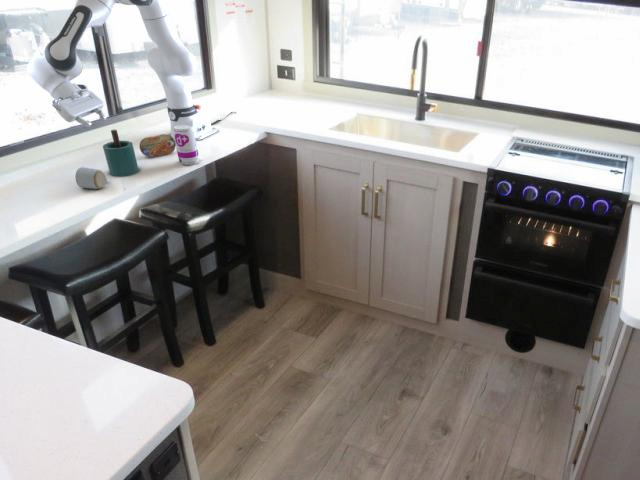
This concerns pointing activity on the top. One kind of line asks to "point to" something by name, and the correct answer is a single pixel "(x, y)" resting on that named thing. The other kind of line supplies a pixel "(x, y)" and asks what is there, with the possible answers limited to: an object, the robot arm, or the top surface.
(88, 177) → the ceramic mug
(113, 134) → the dish brush
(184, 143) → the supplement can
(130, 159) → the teal pen holder
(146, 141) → the tin
